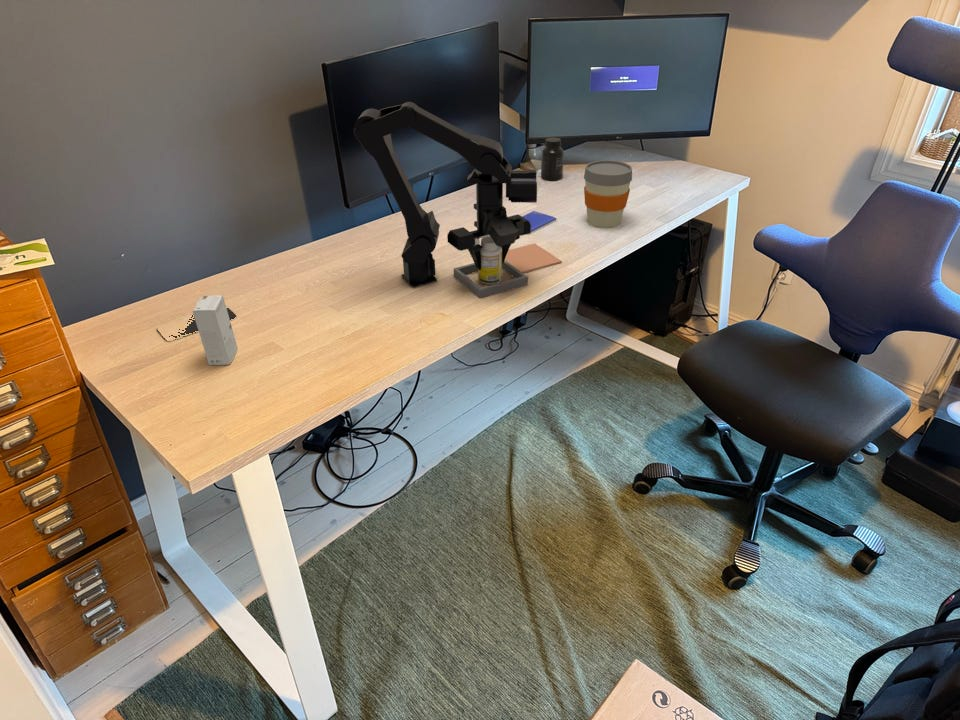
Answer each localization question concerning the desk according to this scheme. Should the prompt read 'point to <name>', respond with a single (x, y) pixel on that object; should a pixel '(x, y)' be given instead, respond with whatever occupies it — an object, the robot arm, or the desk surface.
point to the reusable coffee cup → (606, 192)
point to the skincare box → (215, 330)
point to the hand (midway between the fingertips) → (490, 266)
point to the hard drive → (538, 220)
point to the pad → (530, 258)
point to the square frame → (492, 289)
